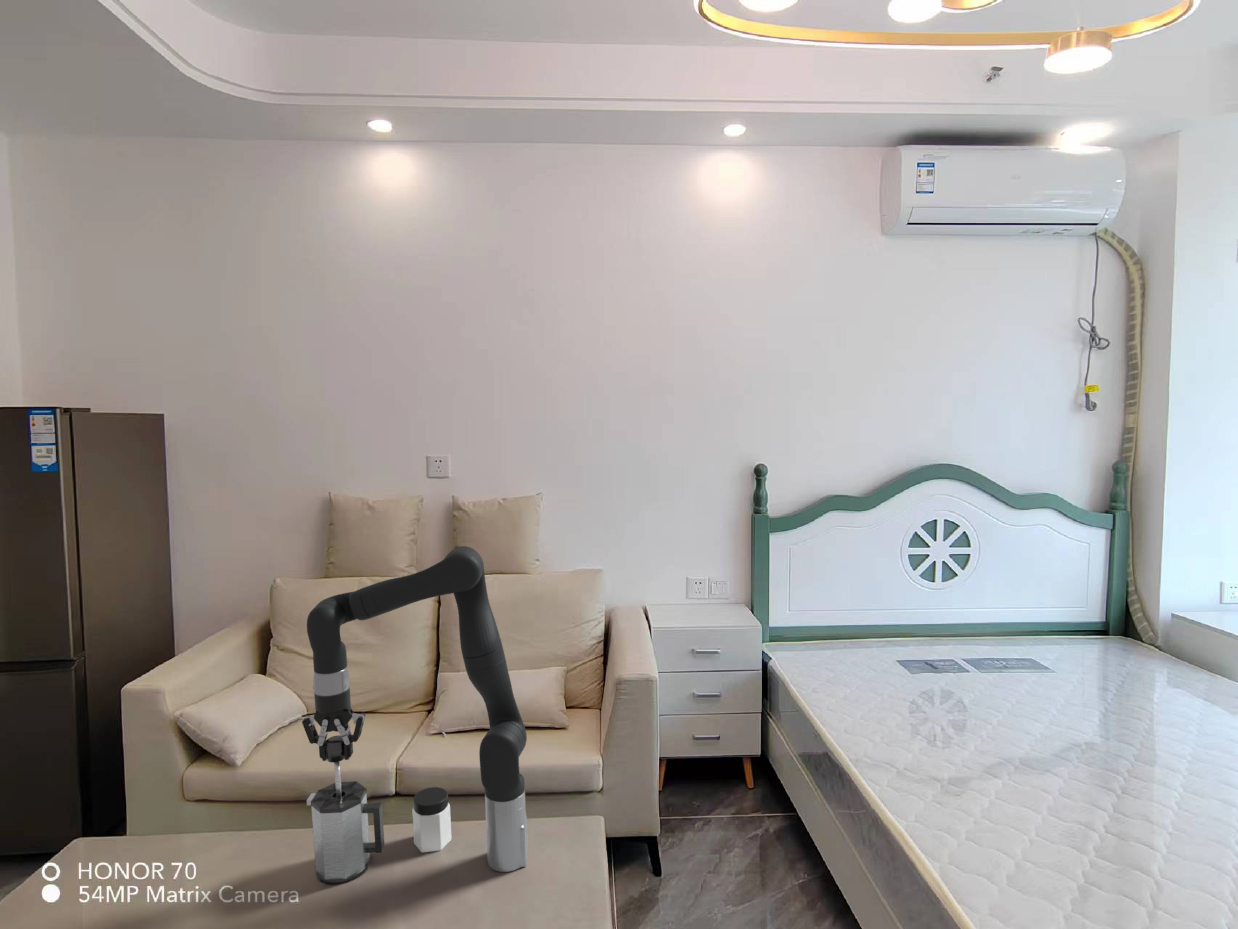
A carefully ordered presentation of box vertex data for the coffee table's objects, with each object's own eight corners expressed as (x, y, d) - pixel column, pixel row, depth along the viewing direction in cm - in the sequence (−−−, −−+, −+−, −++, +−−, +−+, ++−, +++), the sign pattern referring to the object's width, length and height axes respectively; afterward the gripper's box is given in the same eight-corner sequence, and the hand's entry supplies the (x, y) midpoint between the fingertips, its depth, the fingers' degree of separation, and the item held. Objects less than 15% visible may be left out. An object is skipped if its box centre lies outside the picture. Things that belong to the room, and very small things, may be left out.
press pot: (390, 849, 177) (386, 779, 175) (377, 882, 165) (372, 808, 163) (323, 852, 176) (318, 781, 174) (304, 886, 164) (299, 811, 162)
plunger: (352, 817, 171) (347, 735, 169) (346, 828, 167) (341, 743, 165) (335, 818, 171) (329, 735, 169) (329, 828, 167) (323, 744, 165)
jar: (456, 843, 179) (454, 797, 177) (425, 858, 173) (422, 810, 172) (440, 826, 185) (438, 782, 184) (409, 840, 180) (407, 794, 179)
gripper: (368, 679, 169) (372, 749, 171) (306, 681, 169) (310, 751, 171) (359, 693, 162) (363, 766, 164) (293, 695, 161) (298, 768, 163)
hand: (336, 758), depth 167 cm, fingers open, 4 cm apart
